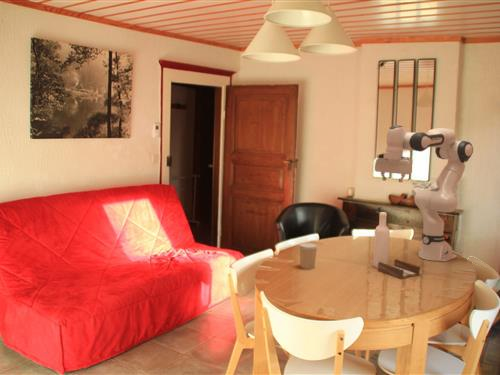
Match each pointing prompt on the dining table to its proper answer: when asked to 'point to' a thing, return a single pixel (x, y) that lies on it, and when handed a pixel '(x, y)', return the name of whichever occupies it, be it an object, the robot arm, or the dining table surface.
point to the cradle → (399, 269)
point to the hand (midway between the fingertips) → (392, 181)
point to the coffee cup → (307, 255)
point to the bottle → (381, 241)
